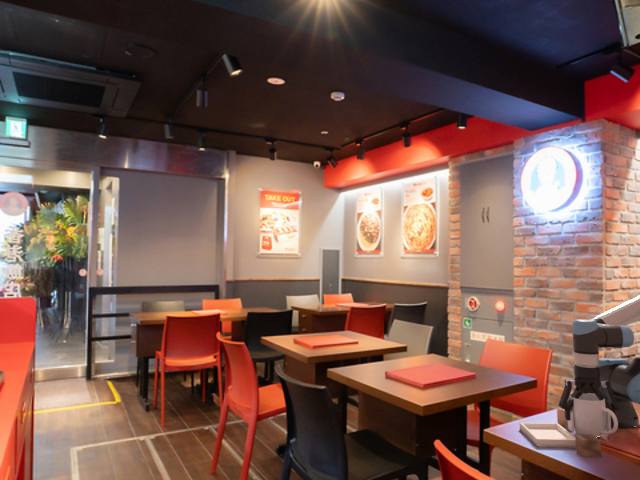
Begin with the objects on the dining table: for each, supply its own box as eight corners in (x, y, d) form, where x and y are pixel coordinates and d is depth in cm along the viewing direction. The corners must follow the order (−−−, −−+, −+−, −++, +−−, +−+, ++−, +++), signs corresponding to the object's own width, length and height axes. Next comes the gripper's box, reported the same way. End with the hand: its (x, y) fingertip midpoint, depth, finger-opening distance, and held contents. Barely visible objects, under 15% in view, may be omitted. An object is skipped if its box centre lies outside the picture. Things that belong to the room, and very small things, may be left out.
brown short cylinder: (569, 423, 164) (568, 407, 164) (575, 428, 159) (575, 411, 159) (555, 423, 164) (554, 407, 165) (561, 428, 159) (560, 411, 160)
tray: (557, 430, 157) (557, 423, 158) (579, 447, 142) (579, 440, 142) (519, 429, 159) (519, 422, 159) (537, 446, 143) (536, 439, 143)
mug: (626, 440, 147) (623, 399, 148) (610, 447, 141) (608, 405, 142) (579, 427, 160) (577, 390, 161) (563, 434, 154) (561, 395, 154)
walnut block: (592, 451, 139) (591, 434, 140) (601, 457, 134) (600, 440, 135) (576, 450, 140) (575, 434, 140) (583, 457, 135) (583, 440, 135)
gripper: (616, 363, 155) (619, 427, 154) (546, 362, 158) (548, 425, 156) (629, 368, 148) (632, 435, 146) (555, 366, 150) (557, 433, 149)
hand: (589, 430), depth 151 cm, fingers closed on mug, 11 cm apart
